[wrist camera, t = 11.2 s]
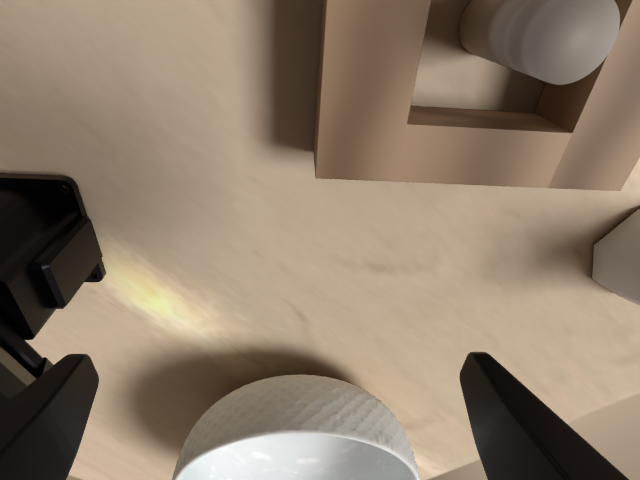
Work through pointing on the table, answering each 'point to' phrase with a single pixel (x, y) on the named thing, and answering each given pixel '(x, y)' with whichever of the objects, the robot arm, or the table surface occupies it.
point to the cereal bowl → (297, 435)
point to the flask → (620, 259)
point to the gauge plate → (481, 125)
